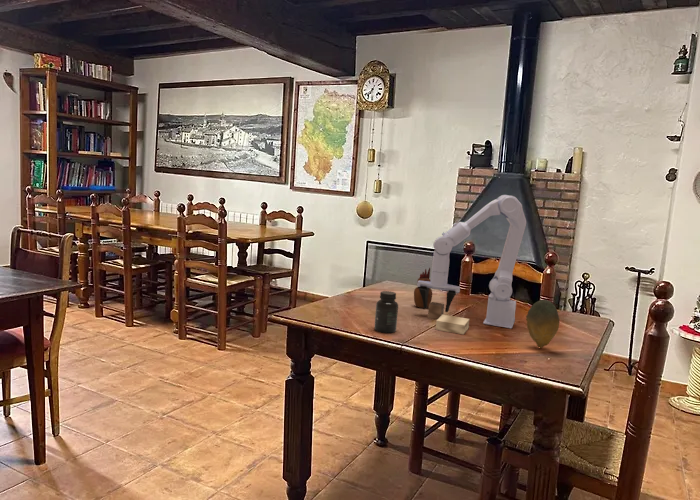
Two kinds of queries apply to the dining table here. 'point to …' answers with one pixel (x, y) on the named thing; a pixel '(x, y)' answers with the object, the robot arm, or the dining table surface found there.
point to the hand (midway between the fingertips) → (435, 309)
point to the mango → (542, 322)
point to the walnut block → (435, 310)
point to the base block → (452, 324)
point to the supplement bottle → (386, 313)
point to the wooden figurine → (417, 293)
